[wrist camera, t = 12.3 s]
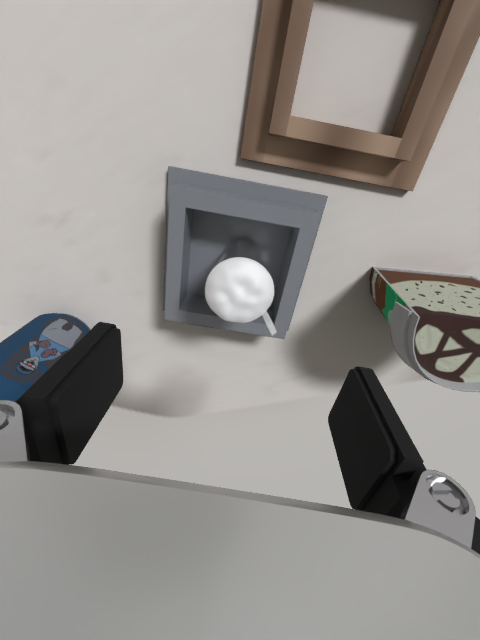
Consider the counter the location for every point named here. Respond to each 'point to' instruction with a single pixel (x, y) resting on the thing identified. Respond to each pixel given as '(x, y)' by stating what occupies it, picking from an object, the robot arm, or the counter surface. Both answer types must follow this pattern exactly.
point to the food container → (433, 323)
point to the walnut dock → (343, 142)
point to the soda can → (36, 351)
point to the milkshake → (241, 285)
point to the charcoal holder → (225, 228)
